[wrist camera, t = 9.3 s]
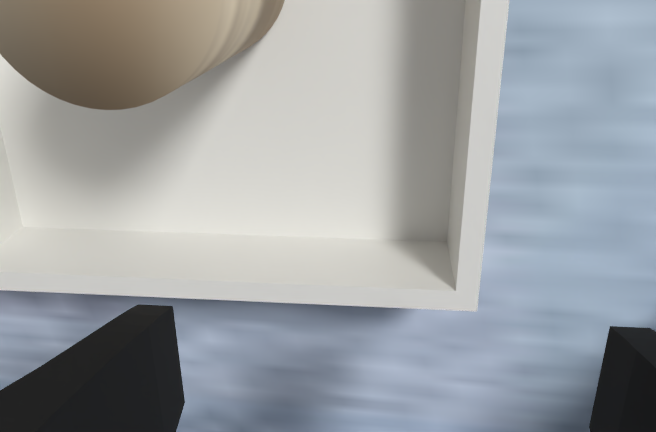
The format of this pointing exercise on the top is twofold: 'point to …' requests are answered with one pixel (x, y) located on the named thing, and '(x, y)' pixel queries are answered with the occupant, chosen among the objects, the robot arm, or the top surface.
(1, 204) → the tray
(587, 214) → the top surface
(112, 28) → the birch cylinder
